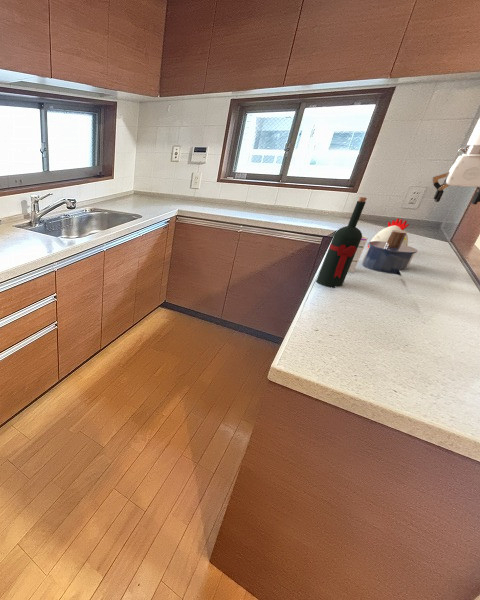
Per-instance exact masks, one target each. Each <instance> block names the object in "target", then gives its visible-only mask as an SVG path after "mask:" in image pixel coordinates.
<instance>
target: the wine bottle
mask: <svg viewBox="0 0 480 600" xmlns="http://www.w3.org/2000/svg"><path fill="white" fill-rule="evenodd" d="M366 203H367V197H365V196H364V197H363V196H359V197H358V200H357V201H356V203H355V206H354V208H353V212H352V214H351V216H350V219H349V221H348V225H346V226H343V227H340V228H339V229H337V230H336V231H335V232H334V234H333V237H332V239H331V242H330V244H329V247H328V249H327V252H326V254H325V257H324V260H323V262H322V265H321V268H320V270H319V273H318V275H317V278H316V281H315V282H316V283H317V284H319V285H320V286H323V287H327V288H331V287H332V288H333V289H335V288H336V287H342V286H343V285H344V282H345V280H346V277H347V275H348V273H349V272H348V270H349V268H350V265H351V263H352V260H353V258H354V256H355V253H356V251H357V248H358V246H359V243H360V241H361V238H362V235H363V233H362V231H361V230H360V229H359V228H358V227H357V225H358V222H359V220H360V218H361V215H362V212H363V210H364V208H365V206H366Z"/></svg>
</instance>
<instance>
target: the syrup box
mask: <svg viewBox="0 0 480 600" xmlns="http://www.w3.org/2000/svg"><path fill="white" fill-rule="evenodd" d="M368 239H369V237H368V236H365V235H363V234H362V238H361V241H360V243H359V246H358V248H357V251H356V253H355V256H354V258H353V260H352V263H351V265H350V268H349V270H348V273H355V271H356V268H357V266H358V263H359V261H360V257H361V256H362V254H363V250H364V248H365V246H366V243H367V242H368Z"/></svg>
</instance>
